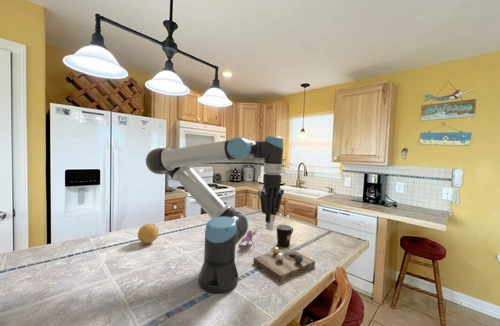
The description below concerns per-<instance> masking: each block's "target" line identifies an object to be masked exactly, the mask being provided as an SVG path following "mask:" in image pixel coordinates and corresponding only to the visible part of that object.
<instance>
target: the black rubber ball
mask: <svg viewBox="0 0 500 326" xmlns="http://www.w3.org/2000/svg"><path fill="white" fill-rule="evenodd" d="M295 262H296V263H301V262H302V257H301V256H300V255H296V256H295Z"/></svg>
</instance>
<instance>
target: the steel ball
mask: <svg viewBox="0 0 500 326" xmlns="http://www.w3.org/2000/svg"><path fill="white" fill-rule="evenodd" d="M276 259H277V260H278V261H279V262H281V261H283V259H284V256H283V254H281V253H279V254H277V256H276Z"/></svg>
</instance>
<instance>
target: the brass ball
mask: <svg viewBox="0 0 500 326" xmlns="http://www.w3.org/2000/svg"><path fill="white" fill-rule="evenodd" d="M272 252H273V253H274V254H275V255H277V254H279V253H280V248H279V247H277V246H275V247H273V248H272Z"/></svg>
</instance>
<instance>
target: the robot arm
mask: <svg viewBox="0 0 500 326" xmlns="http://www.w3.org/2000/svg"><path fill="white" fill-rule="evenodd" d="M283 154H284V139H283V138H282V137H281V136H276V135H274V136H273V135H272V136H268V135H267V136H266V137H265V139H264V140H251V139H247V138H245V137H242V136H237V137H233V138H231V139H227V140H221V141H220V140H219V141H215V142H208V143H203V144H195V145H192V146H191V145H190V146H184V147H178V148H171V147H163V148H162V147H158V148H153V149H151V150H150V151H149V152H148V153H147V155H146V157H145V165H146V168H147V169H148V170H149V171H150V172H151V173H153V174H156V175H168V176H169V177H170V178H171V180H173V181H175V182H179V183H180V185H181V186H182V187H183V188H184V189H185V190H186V191H187V193H188V194H189V195H190V196H191V197H192V198H193V199H194V200H195V202H197V204H198V205H199V206H200V207H201V208H202V210H203V211H204V212H205V213H206V214H207V215H208V216H209V217H210V220H209V221H207V223H206V226H205V230H204V251H203V252H204V253H203V255H204V257H203V258H204V259H203V262H202V266H201V269H200V271H199V274H198V283H197V284H198V286H199V288H200V289H201V290H203V291H205V292H207V293H211V294H222V293H227V292H230V291H231V290H233V289H235V288H236V287H237V285H238V283H239V273H238V268H237V265H236V261H235V259H236V258H235V257H236V246H237V244H238V243H240V242H241V240H242V239H243V238H244V237H245V236H246V234H247V233H248V232H247V231H248V229H249V220H248V218H247V216H246V215H245V213H243V212H241V211H237V210H236V209H235V208H234V207H233V205H226V204H225V203H224V201H223V200H222V199H221V198H220V197H219V196H218V195H217V194H216V193H215V191H213V189H212V188H211V187H210V186H209V185H208V184H207V183H206V182H205V180H204V179H202V178H201V176H200V175H199V174H198V173H197V171H195V170H194V166H195V165H203V164H210V163H212V164H213V163H218V162H225V161H234V160H241V159H255V160H256V159H258V160H260V159H261V160H263V161H264V162H263V177H262V180H263V186H262V189H261V190H258V192H257V193H258V195H259V200H260V207H261V213H262V214H265V220H264V221H265V222H266V223H265V229H266V230H267V231H270V232H271V231H274V222H275V219H276V218H275V216H276V215H277V214H278V213H279V212H280V208H281V207H280V206H281V202H282V198H283V195H284V194H285V193H284V192H285V190H284V189H282V188H281V185H280V184H282V175H281V174H282V171H283V170H282V169H283V158H284V157H283V156H284V155H283Z"/></svg>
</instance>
